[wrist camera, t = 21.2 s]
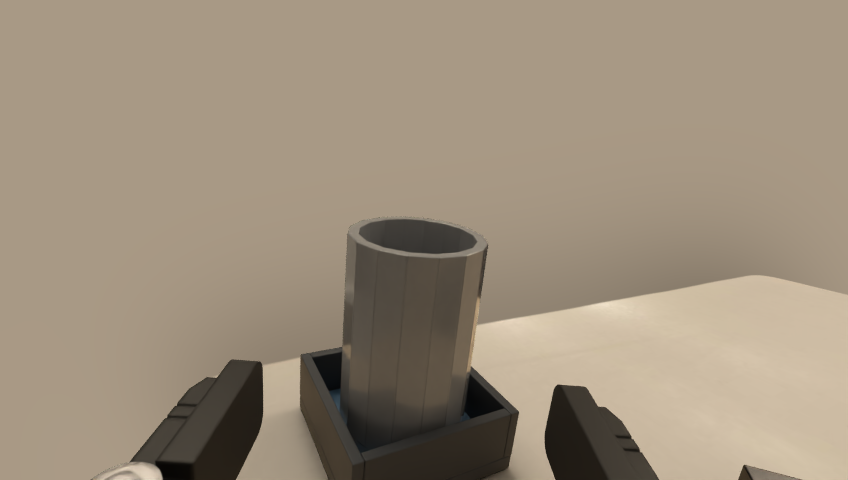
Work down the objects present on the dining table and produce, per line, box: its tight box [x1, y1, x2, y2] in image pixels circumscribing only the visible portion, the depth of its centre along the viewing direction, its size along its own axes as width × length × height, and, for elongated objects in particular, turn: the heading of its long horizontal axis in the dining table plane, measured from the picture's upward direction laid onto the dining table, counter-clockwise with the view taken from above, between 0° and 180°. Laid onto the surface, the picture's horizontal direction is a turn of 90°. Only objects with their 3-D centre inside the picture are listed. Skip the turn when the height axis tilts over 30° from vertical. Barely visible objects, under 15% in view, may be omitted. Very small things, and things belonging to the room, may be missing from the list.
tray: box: [300, 347, 519, 480], centre depth 22 cm, size 8×8×3 cm
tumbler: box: [340, 217, 488, 454], centre depth 21 cm, size 6×6×10 cm
